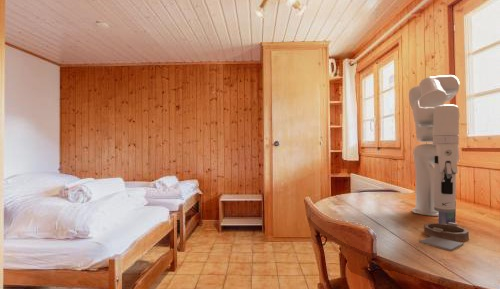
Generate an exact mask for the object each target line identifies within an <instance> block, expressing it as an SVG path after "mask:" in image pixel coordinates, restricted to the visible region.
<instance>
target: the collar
mask: <svg viewBox="0 0 500 289" xmlns="http://www.w3.org/2000/svg"><path fill="white" fill-rule="evenodd" d="M458 224H459V223H457V222H455V223H452V222H449V223H448V224H440V223H439V222H438V223H437V222H434V223H431V222H428V223H426V224H424V226H423V228H424V230H423V232H424V234H425V235H427V236H428V237H431V236H435V237H439V238H443V239H448V240H452V241H456V242H466V241H468V240H470V238H469V234H470V233H469V230H468V229H467V228H464V227H463V226H462V227H461V226H459V225H458ZM445 231H446V232H445ZM467 239H468V240H467Z"/></svg>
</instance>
